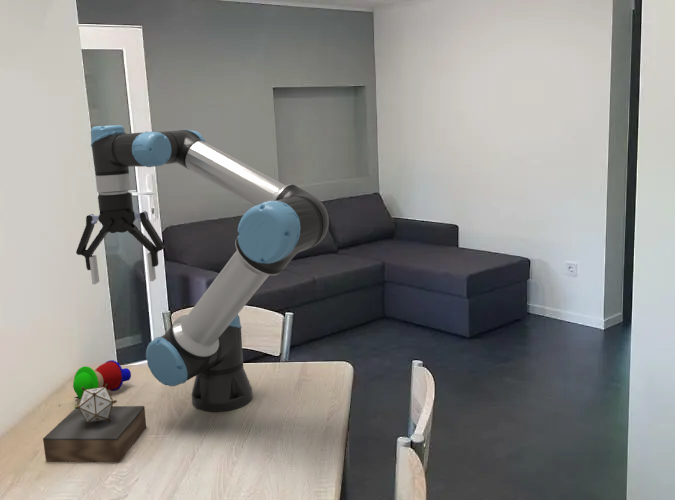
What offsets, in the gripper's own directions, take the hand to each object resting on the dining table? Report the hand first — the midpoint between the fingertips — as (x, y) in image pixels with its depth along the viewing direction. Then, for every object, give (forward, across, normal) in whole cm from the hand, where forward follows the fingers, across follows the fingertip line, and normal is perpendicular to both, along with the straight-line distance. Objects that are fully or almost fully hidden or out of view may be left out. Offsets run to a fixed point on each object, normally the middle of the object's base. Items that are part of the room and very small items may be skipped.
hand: (124, 281), depth 161 cm
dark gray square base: (+33, +4, +18) cm, 37 cm away
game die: (+28, +4, +18) cm, 33 cm away
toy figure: (+33, +12, -10) cm, 36 cm away
